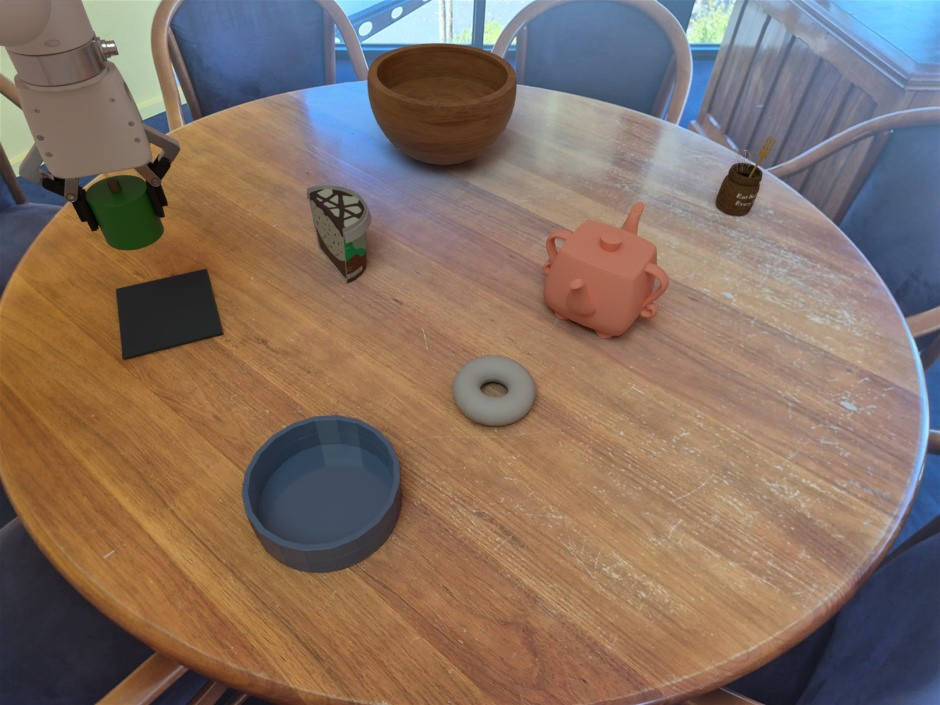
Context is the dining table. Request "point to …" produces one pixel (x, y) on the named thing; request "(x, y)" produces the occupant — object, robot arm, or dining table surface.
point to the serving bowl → (323, 493)
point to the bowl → (441, 100)
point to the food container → (341, 227)
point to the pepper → (124, 212)
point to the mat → (166, 313)
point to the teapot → (603, 275)
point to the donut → (494, 408)
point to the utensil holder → (741, 185)
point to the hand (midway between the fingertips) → (127, 216)
